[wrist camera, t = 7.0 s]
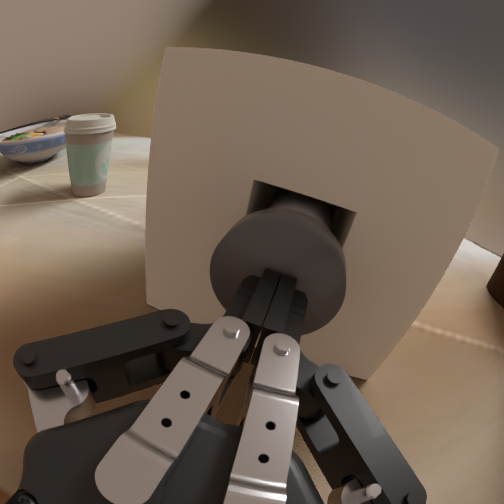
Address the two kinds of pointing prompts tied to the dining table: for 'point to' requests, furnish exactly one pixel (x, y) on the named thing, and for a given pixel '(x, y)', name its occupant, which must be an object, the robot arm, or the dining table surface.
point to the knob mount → (308, 187)
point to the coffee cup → (89, 151)
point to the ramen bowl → (34, 140)
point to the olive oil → (497, 282)
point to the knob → (285, 255)
